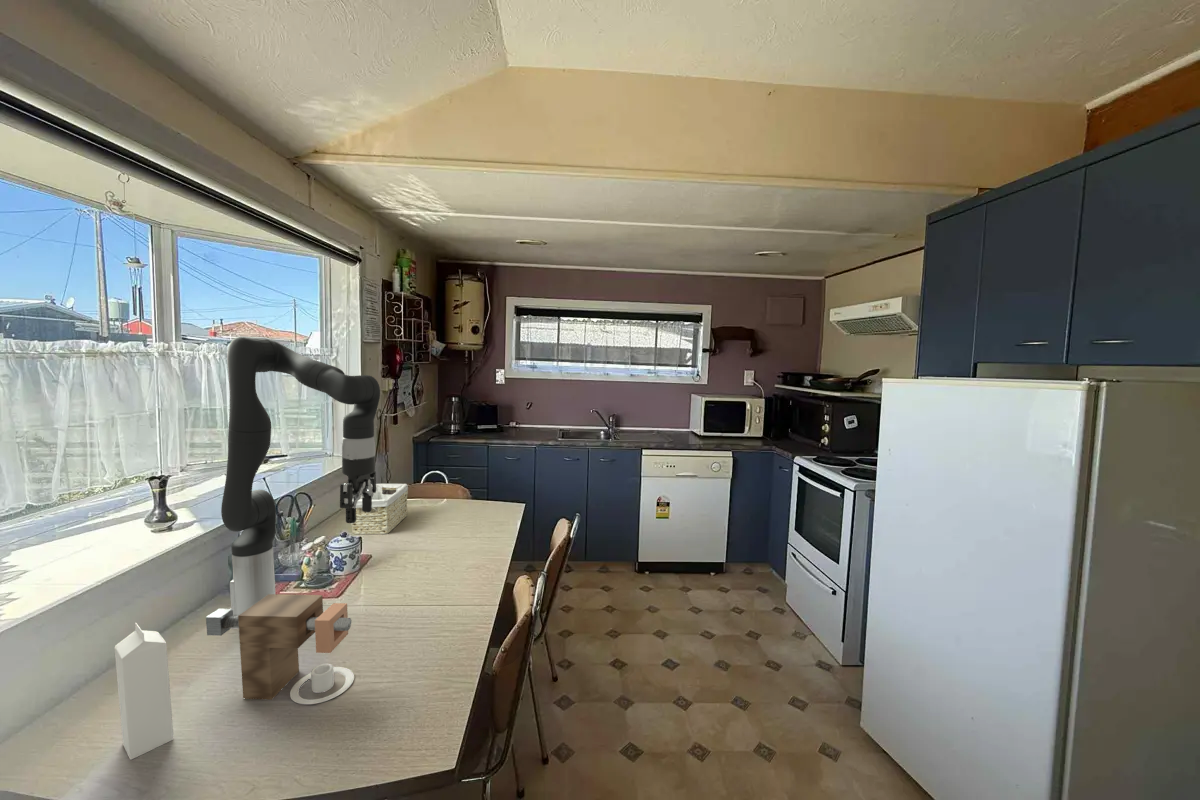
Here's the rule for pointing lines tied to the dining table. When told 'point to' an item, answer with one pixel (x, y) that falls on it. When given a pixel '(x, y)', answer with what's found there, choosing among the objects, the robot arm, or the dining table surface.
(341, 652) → the dining table surface
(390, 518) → the storage basket
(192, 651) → the dining table surface
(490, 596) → the dining table surface
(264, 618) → the bearing block
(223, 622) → the shaft
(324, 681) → the candle holder
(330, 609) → the spacer
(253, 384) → the robot arm
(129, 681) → the milk
